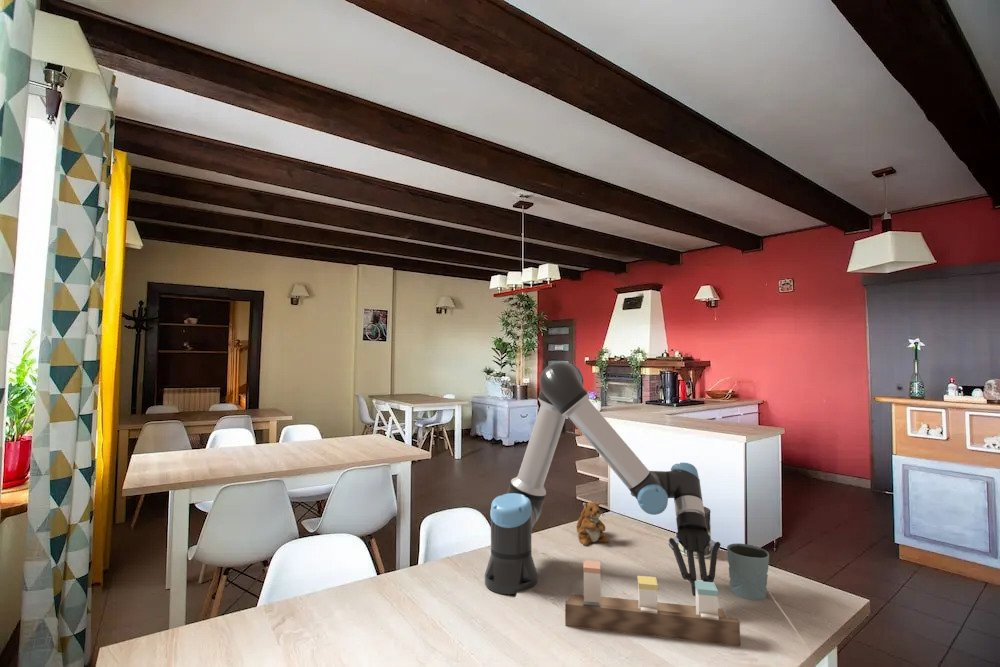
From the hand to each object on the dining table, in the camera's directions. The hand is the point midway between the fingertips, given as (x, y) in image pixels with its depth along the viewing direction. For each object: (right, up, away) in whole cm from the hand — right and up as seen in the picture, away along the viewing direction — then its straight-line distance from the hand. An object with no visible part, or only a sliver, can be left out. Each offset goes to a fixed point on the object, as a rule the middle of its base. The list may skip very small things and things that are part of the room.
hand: (703, 610), depth 115 cm
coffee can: (+16, -6, +44) cm, 47 cm away
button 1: (-25, -3, +7) cm, 26 cm away
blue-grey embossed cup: (+18, -5, +14) cm, 24 cm away
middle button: (-14, -2, -2) cm, 14 cm away
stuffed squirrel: (-17, -7, +56) cm, 59 cm away
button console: (-13, -4, +2) cm, 14 cm away
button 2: (-1, -2, -5) cm, 5 cm away
